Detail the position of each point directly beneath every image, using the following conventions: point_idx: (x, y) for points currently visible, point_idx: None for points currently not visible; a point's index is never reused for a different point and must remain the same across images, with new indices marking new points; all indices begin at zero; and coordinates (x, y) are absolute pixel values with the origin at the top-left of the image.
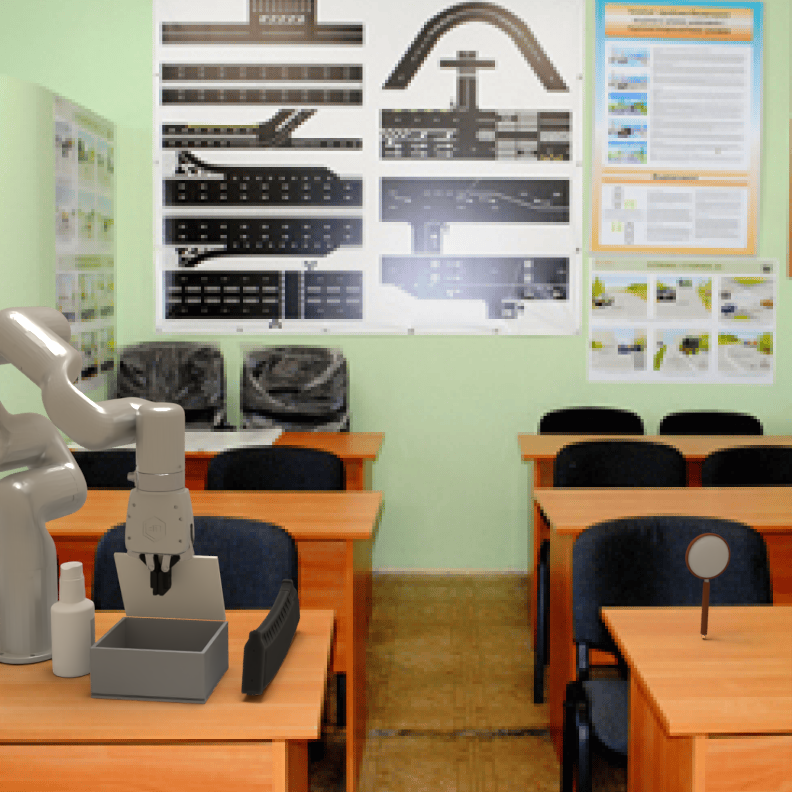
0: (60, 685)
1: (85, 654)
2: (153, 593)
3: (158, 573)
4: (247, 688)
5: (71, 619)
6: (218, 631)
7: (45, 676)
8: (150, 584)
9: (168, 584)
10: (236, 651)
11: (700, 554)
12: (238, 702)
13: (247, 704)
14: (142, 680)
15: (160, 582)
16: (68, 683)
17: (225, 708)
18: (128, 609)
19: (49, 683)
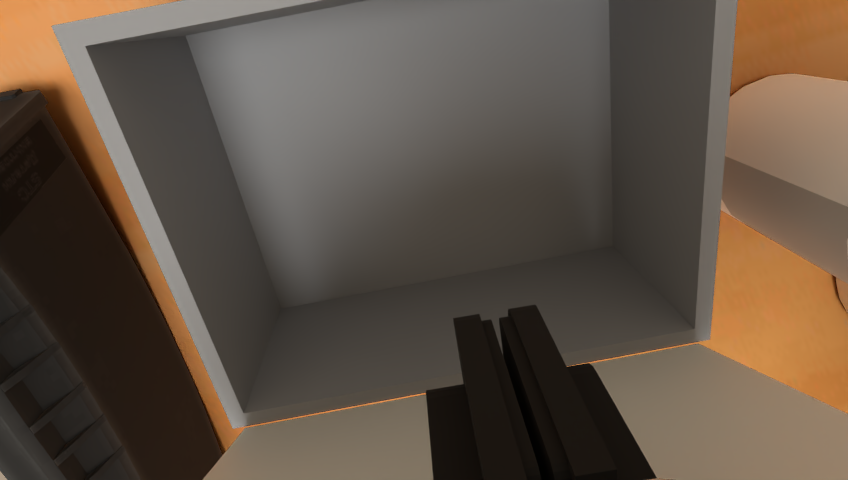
0: (767, 11)
1: (757, 134)
2: (531, 311)
3: (535, 470)
4: (7, 101)
5: None
6: (196, 322)
7: (844, 68)
8: (598, 379)
9: (428, 418)
10: (320, 412)
11: None
12: (65, 74)
13: (22, 68)
14: None
15: (485, 389)
16: (744, 37)
17: (73, 8)
18: (704, 358)
19: (813, 15)
